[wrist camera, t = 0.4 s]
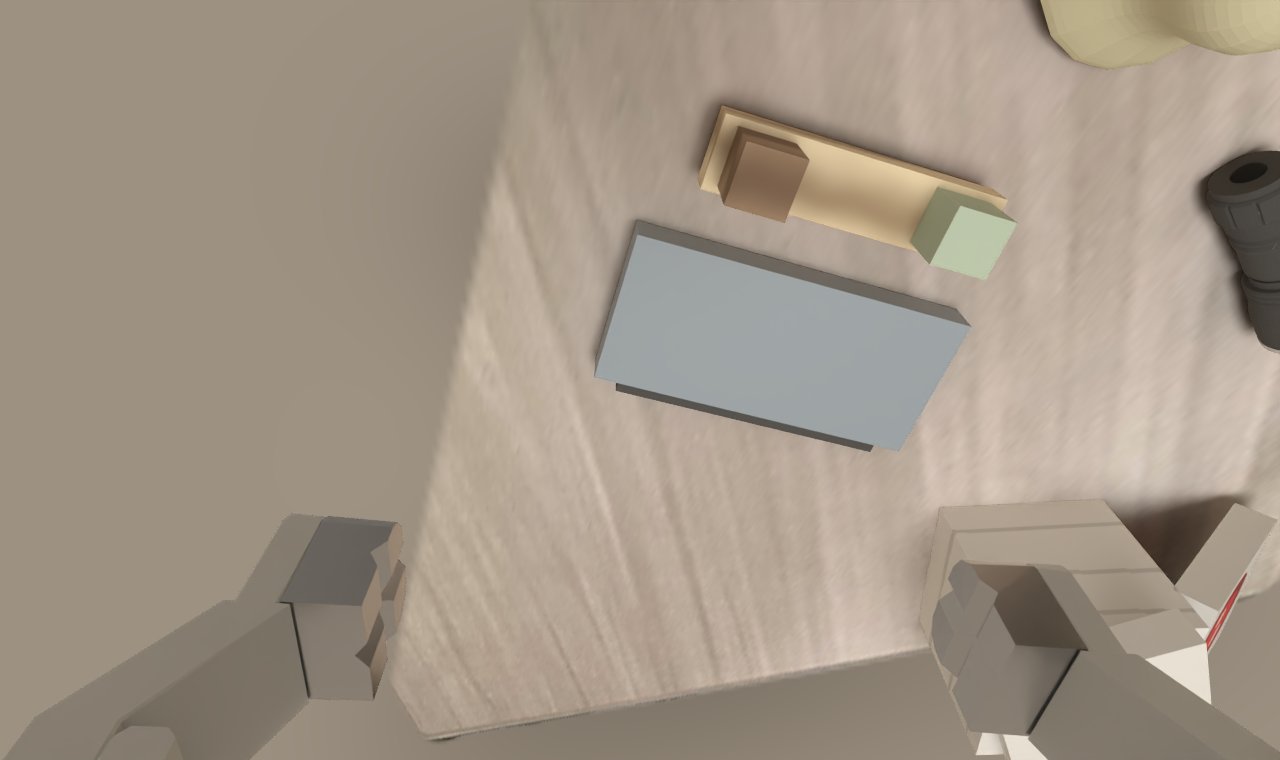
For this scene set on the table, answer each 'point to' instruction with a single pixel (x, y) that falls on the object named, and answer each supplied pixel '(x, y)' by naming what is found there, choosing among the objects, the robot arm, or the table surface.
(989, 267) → the block
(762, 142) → the block
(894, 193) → the pallet
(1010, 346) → the table surface
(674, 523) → the table surface
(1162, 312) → the table surface
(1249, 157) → the flashlight
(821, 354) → the dock
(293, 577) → the robot arm
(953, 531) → the pizza boxes
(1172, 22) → the handbell
